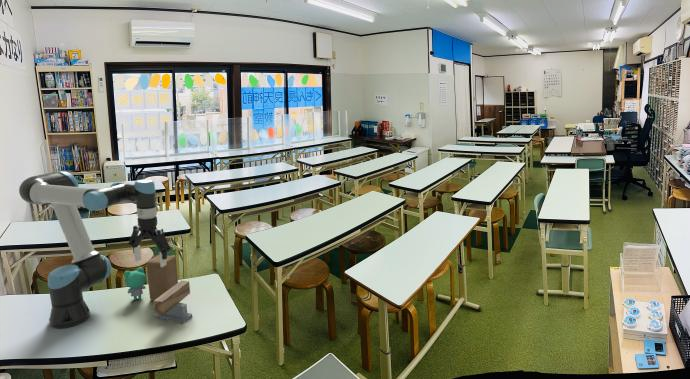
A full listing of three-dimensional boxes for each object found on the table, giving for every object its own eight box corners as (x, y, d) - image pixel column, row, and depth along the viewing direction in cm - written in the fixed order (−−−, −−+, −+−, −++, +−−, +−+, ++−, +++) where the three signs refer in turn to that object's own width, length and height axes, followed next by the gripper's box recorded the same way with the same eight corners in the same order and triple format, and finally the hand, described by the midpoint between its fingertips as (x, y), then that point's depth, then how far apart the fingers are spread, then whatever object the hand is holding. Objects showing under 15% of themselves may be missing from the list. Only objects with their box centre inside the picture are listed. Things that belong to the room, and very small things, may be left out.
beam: (155, 313, 181) (153, 300, 180) (182, 292, 200) (181, 280, 199) (163, 314, 180) (162, 301, 179) (190, 293, 199) (189, 281, 198)
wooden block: (168, 302, 205) (164, 263, 200) (149, 300, 207) (145, 261, 202) (179, 293, 214) (176, 255, 210) (161, 291, 216) (158, 253, 212)
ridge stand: (157, 317, 191) (155, 303, 190) (166, 311, 197) (165, 297, 195) (183, 323, 187) (181, 308, 185) (192, 316, 192) (191, 302, 191)
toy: (144, 292, 214) (141, 264, 211) (150, 298, 209) (147, 269, 205) (124, 298, 208) (121, 269, 205) (130, 304, 203) (126, 275, 199)
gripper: (116, 214, 182) (121, 261, 187) (165, 223, 174) (168, 271, 179) (130, 210, 189) (134, 255, 194) (177, 218, 181) (180, 264, 186)
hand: (150, 263), depth 187 cm, fingers open, 13 cm apart
